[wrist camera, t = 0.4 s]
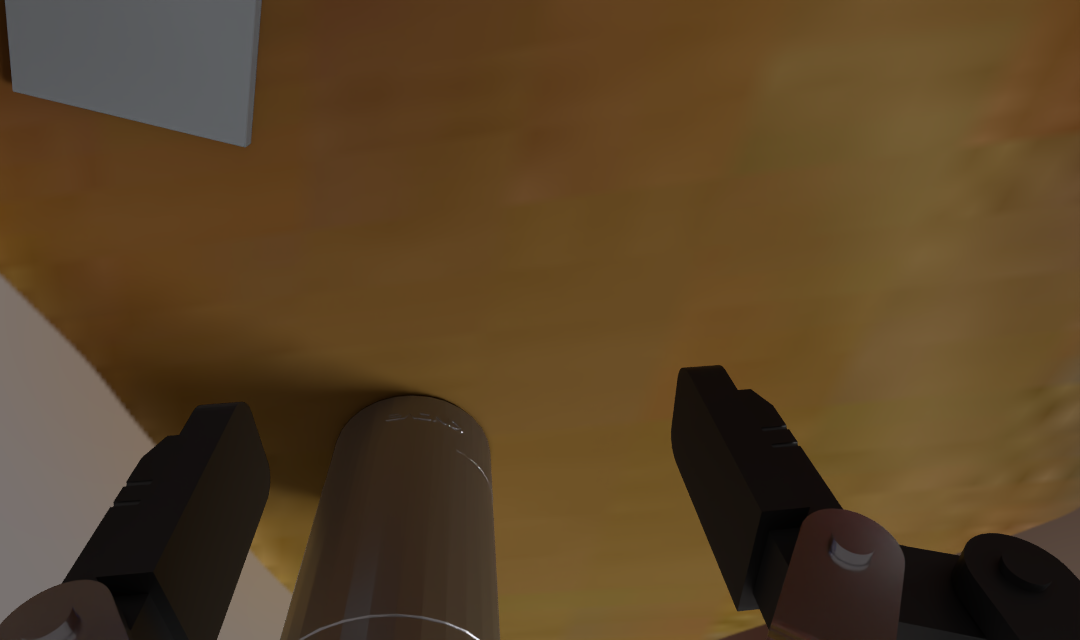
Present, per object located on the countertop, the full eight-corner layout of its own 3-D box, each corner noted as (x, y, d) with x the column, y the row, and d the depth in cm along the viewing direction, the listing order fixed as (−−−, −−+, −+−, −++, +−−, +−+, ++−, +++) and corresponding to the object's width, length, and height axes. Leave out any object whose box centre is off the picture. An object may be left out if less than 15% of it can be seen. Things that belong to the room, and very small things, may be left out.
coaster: (250, 143, 28) (245, 147, 27) (24, 88, 26) (12, 90, 25) (267, -83, 24) (261, -85, 23) (5, -167, 22) (-11, -172, 22)
